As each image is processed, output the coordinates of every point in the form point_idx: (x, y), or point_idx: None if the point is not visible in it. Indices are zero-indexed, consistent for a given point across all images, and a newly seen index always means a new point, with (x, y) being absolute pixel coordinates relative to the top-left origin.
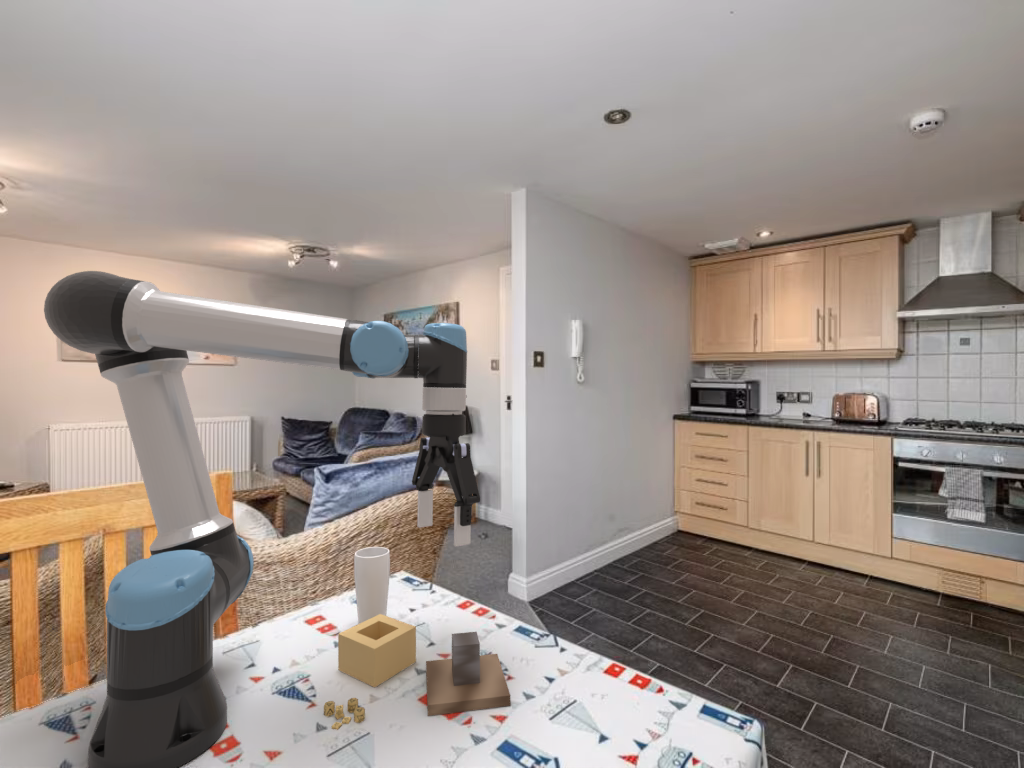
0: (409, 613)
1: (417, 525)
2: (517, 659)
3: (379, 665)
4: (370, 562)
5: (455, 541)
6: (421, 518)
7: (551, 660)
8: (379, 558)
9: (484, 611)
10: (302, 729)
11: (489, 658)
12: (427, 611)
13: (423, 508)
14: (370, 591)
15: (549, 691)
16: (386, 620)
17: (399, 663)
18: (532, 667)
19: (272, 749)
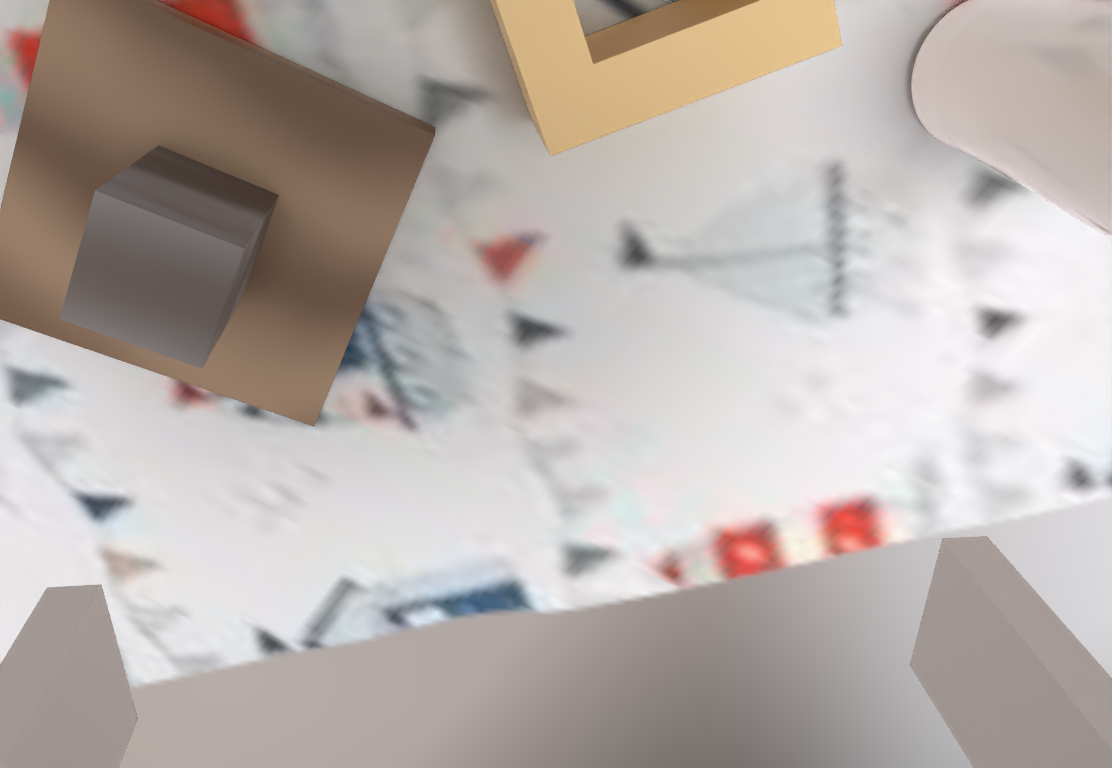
0: (974, 294)
1: (993, 545)
2: (298, 482)
3: None
4: None
5: (45, 623)
6: (990, 629)
7: (221, 575)
8: None
9: (739, 565)
10: None
11: (295, 382)
12: (925, 372)
13: (1055, 746)
14: (1053, 56)
15: (23, 461)
16: (734, 41)
17: (495, 13)
18: (211, 497)
19: None
